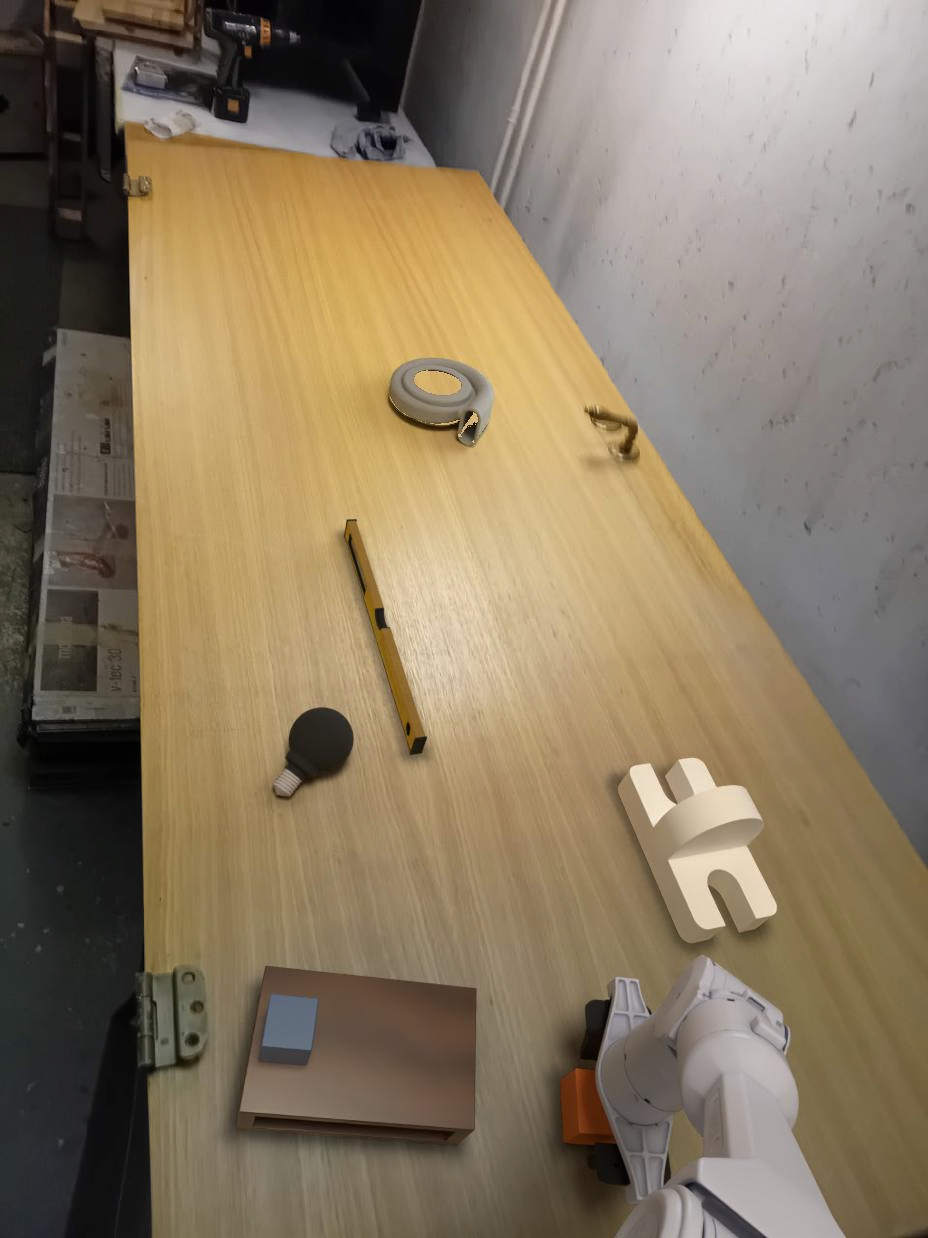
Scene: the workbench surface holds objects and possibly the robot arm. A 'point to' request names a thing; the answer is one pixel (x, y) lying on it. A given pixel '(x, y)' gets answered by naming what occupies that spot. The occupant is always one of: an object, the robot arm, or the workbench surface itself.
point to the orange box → (583, 1110)
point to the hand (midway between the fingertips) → (594, 1108)
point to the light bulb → (315, 747)
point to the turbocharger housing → (444, 396)
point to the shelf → (368, 1061)
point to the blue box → (289, 1029)
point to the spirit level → (385, 640)
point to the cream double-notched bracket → (698, 847)
